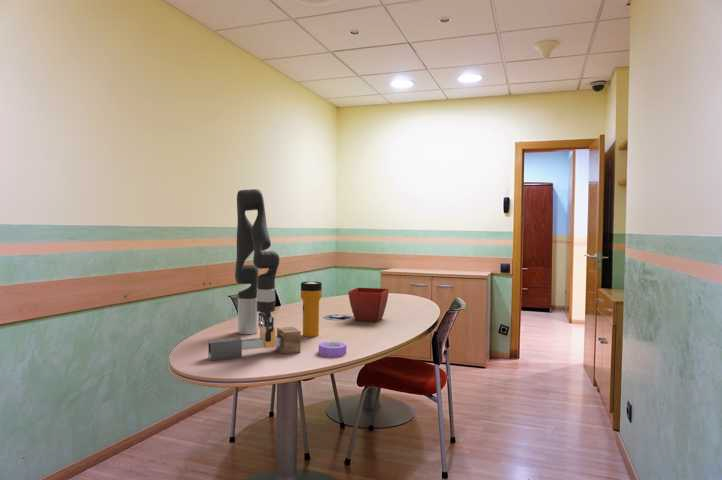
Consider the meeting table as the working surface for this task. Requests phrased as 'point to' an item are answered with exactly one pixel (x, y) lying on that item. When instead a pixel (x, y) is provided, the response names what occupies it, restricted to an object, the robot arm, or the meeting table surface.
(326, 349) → the masking tape
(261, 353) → the meeting table surface
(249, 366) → the meeting table surface
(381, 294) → the plant pot
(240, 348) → the sleeve
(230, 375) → the meeting table surface
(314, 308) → the flashlight
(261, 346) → the slip tube
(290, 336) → the socket block
